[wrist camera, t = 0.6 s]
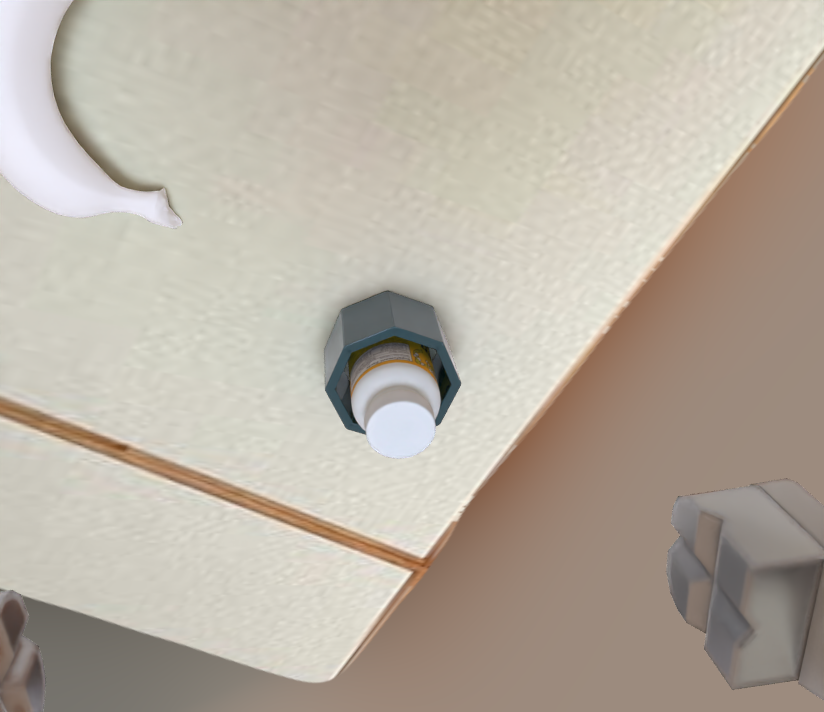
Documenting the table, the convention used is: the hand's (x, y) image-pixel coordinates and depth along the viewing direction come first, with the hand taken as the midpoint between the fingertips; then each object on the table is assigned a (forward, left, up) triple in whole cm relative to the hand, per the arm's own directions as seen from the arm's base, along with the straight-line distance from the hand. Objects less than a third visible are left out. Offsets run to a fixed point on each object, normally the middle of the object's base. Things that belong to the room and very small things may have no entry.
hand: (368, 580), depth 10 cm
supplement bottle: (+16, +10, -39) cm, 43 cm away
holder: (+16, +10, -39) cm, 43 cm away
